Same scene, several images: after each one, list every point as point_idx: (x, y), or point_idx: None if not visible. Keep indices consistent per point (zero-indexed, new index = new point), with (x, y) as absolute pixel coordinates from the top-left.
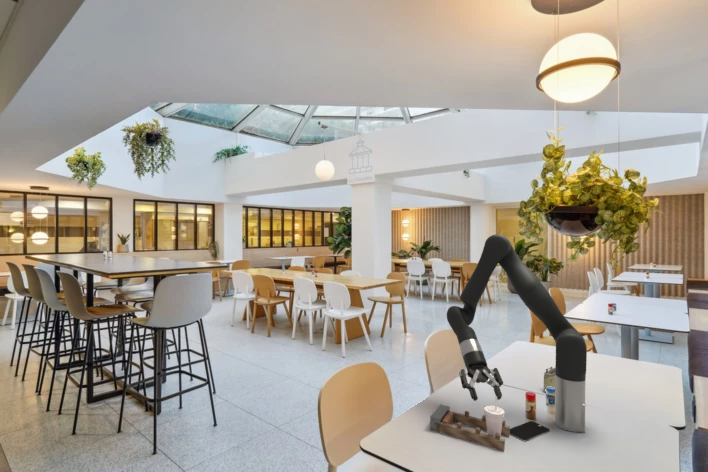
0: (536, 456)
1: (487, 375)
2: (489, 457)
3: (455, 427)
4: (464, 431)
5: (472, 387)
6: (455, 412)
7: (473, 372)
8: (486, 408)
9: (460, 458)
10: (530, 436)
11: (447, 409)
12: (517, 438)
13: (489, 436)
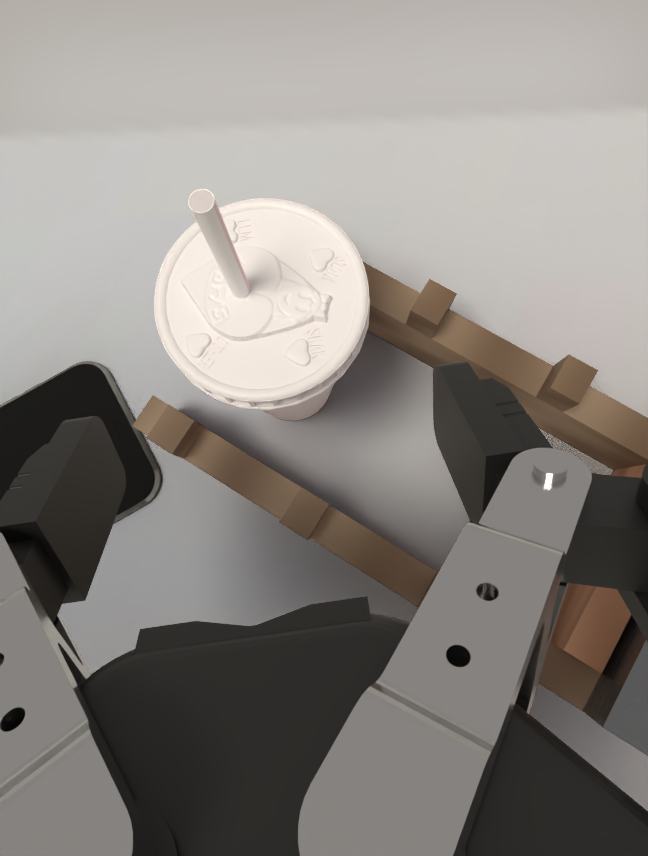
0: (110, 208)
1: (54, 708)
2: (397, 188)
3: (588, 395)
4: (522, 352)
5: (525, 462)
6: None
7: (524, 847)
8: (335, 331)
9: (577, 172)
10: (21, 413)
11: (639, 660)
12: (122, 398)
13: None
